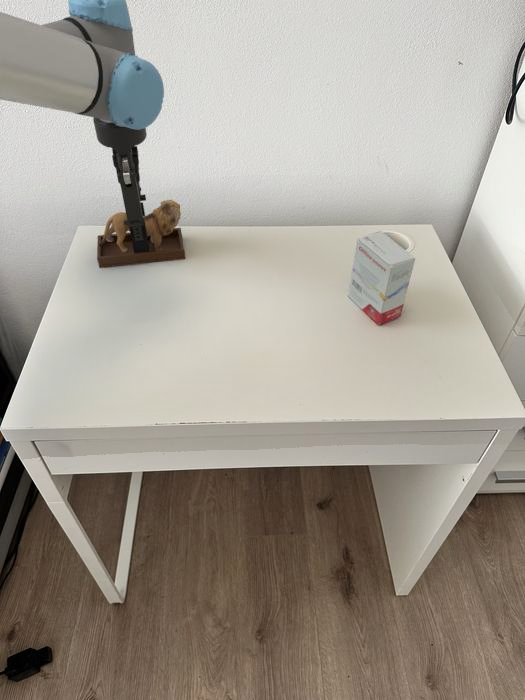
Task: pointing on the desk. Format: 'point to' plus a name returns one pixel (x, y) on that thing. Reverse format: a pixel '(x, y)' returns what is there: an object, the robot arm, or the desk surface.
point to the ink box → (380, 277)
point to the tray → (114, 256)
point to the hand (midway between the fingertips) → (141, 243)
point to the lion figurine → (155, 223)
